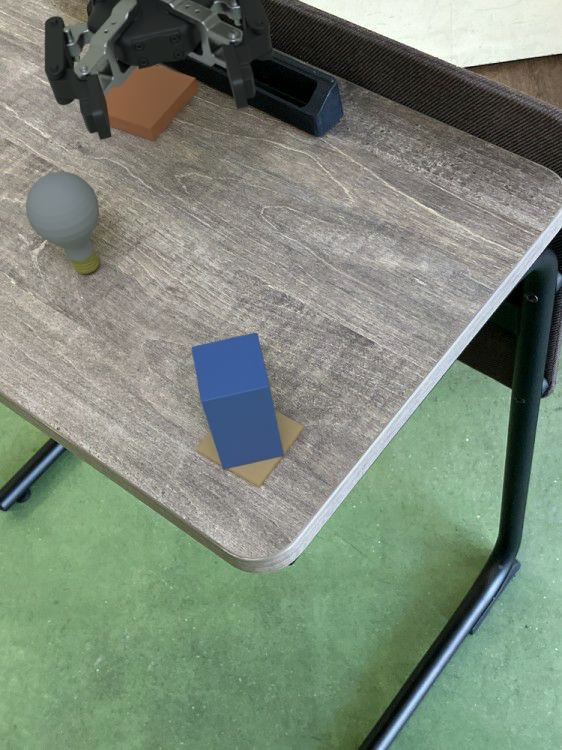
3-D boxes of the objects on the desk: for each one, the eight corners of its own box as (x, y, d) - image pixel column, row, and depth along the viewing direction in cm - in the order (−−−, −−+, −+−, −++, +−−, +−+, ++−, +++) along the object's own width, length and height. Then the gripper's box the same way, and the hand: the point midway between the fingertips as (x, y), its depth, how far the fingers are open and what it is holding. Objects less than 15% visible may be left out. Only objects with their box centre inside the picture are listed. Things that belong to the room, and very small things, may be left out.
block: (213, 418, 69) (191, 346, 62) (272, 405, 70) (257, 331, 62) (223, 470, 67) (201, 401, 59) (284, 456, 67) (269, 386, 60)
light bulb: (48, 259, 80) (8, 172, 72) (109, 235, 81) (76, 147, 73) (66, 304, 77) (26, 219, 69) (129, 279, 78) (96, 192, 70)
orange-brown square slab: (134, 70, 93) (130, 57, 92) (198, 90, 91) (195, 77, 89) (88, 118, 90) (83, 106, 89) (153, 141, 87) (150, 128, 86)
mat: (242, 394, 71) (241, 392, 70) (304, 428, 69) (303, 425, 68) (196, 451, 68) (195, 448, 68) (259, 488, 66) (258, 485, 66)
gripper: (22, -65, 63) (35, 88, 54) (232, -111, 64) (280, 33, 54) (57, 32, 69) (73, 184, 60) (247, -11, 70) (293, 134, 61)
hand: (171, 112), depth 57 cm, fingers open, 8 cm apart
